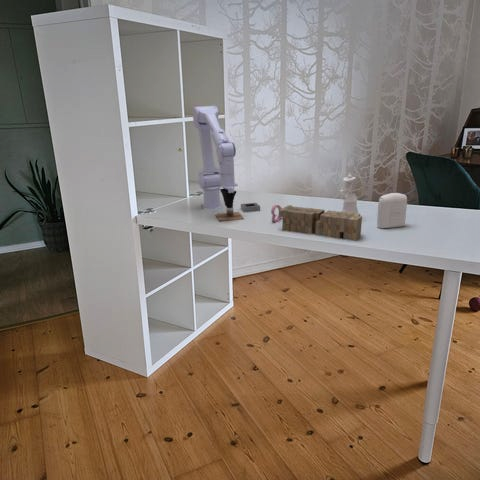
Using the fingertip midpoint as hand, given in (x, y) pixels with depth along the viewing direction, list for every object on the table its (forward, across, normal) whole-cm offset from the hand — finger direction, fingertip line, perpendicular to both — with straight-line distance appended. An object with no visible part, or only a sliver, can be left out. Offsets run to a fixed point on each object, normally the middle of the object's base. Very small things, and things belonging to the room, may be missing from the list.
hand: (228, 206), depth 176 cm
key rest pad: (+5, 0, 0) cm, 5 cm away
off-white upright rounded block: (+5, -32, -54) cm, 63 cm away
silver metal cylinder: (+3, 0, 0) cm, 3 cm away
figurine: (+5, -17, -45) cm, 48 cm away
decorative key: (+5, -6, -23) cm, 24 cm away
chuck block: (+5, +9, -11) cm, 15 cm away
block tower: (+5, -30, -28) cm, 41 cm away
